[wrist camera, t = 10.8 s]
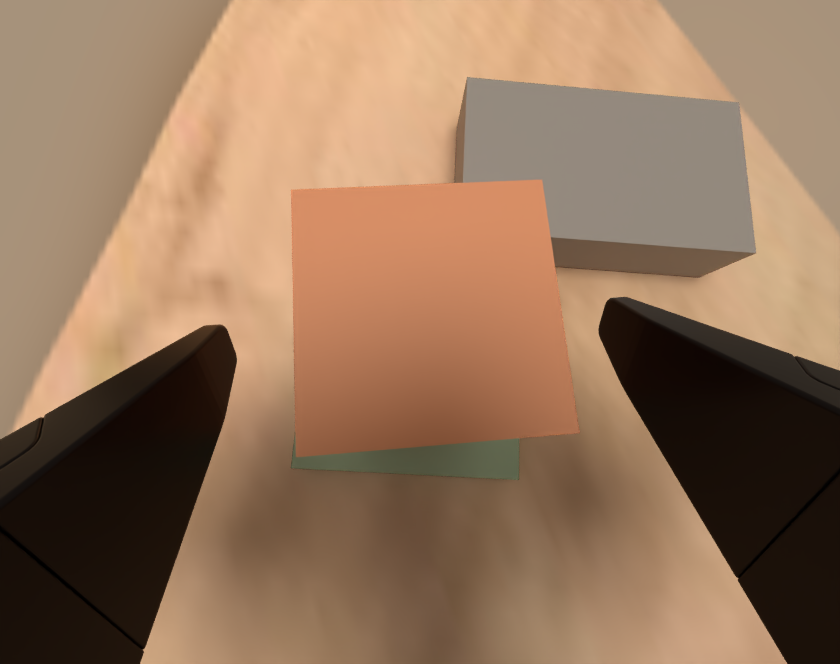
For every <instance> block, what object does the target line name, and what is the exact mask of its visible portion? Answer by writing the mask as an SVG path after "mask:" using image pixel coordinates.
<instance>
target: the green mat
mask: <svg viewBox="0 0 840 664" xmlns="http://www.w3.org/2000/svg"><path fill="white" fill-rule="evenodd" d="M291 468H296V469H315V470H334V471H354V472H373V473H392V474H412V475H431V476H451V477H470V478H489V479H509V480H519V438H516V439H504V440H493V441H481V442H469V443H458V444H446V445H434V446H422V447H411V448H399V449H387V450H376V451H364V452H352V453H341V454H329V455H317V456H305V457H296V437H294V446H293V455H292V463H291Z"/></svg>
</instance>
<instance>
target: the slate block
mask: <svg viewBox="0 0 840 664" xmlns="http://www.w3.org/2000/svg"><path fill="white" fill-rule="evenodd" d="M517 180H542V182H543V189H544V195H545V202H546V209H547V216H548V223H549V229H550V236H551V243H552V250H553V256H554V263H555V267H568V268H581V269H595V270H608V271H622V272H635V273H649V274H662V275H676V276H689V277H701V276H703V275H706V274H708V273H711V272H713V271H715V270H718V269H720V268H722V267H725V266H727V265H729V264H732V263H734V262H736V261H739V260H741V259H743V258H746V257H748V256H750V255H753V254H755V253H756V247H755V239H754V230H753V221H752V212H751V203H750V194H749V186H748V177H747V168H746V159H745V150H744V142H743V133H742V124H741V115H740V106H739V102H728V101H717V100H707V99H696V98H685V97H674V96H664V95H653V94H642V93H631V92H621V91H610V90H599V89H589V88H578V87H567V86H556V85H546V84H535V83H524V82H513V81H503V80H492V79H481V78H470V77H467V80H466V85H465V90H464V95H463V100H462V105H461V110H460V114H459V119H458V124H457V136H456V158H455V181H454V183H469V182H493V181H517Z"/></svg>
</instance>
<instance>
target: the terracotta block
mask: <svg viewBox="0 0 840 664" xmlns="http://www.w3.org/2000/svg"><path fill="white" fill-rule="evenodd" d="M291 208H292V265H293V322H294V380H295V437H296V457H305V456H317V455H329V454H341V453H352V452H364V451H376V450H387V449H399V448H411V447H422V446H434V445H446V444H458V443H469V442H481V441H493V440H504V439H516V438H528V437H539V436H551V435H563V434H575V433H580V432H579V426H578V419H577V412H576V405H575V399H574V392H573V385H572V378H571V372H570V365H569V358H568V351H567V344H566V338H565V331H564V324H563V317H562V311H561V304H560V297H559V290H558V283H557V277H556V270H555V263H554V256H553V250H552V243H551V236H550V229H549V223H548V216H547V209H546V202H545V195H544V189H543V182H542V180H517V181H493V182H469V183H445V184H421V185H396V186H372V187H348V188H324V189H299V190H291Z"/></svg>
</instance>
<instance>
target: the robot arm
mask: <svg viewBox="0 0 840 664" xmlns="http://www.w3.org/2000/svg"><path fill="white" fill-rule="evenodd" d="M599 336H600V339H601V341H602V343H603V345H604V348H605V350H606V352H607V354H608V356H609V359H610V361H611V363H612V365H613V367H614V370H615V372H616V374H617V376H618V378H619V381H620V383H621V385H622V387H623V388H624V390H625V392H626V394H627V395H628V397H629V399H630V400H631V402H632V404H633V405H634V407H635V409H636V411H637V412H638V414H639V416H640V417H641V419H642V421H643V422H644V424H645V426H646V427H647V429H648V431H649V432H650V434H651V436H652V437H653V439H654V441H655V442H656V444H657V446H658V447H659V449H660V451H661V452H662V454H663V456H664V457H665V459H666V461H667V462H668V464H669V466H670V467H671V469H672V471H673V472H674V474H675V476H676V477H677V479H678V481H679V482H680V484H681V486H682V488H683V489H684V491H685V493H686V494H687V496H688V498H689V499H690V501H691V503H692V504H693V506H694V508H695V509H696V511H697V513H698V514H699V516H700V518H701V519H702V521H703V523H704V524H705V526H706V528H707V529H708V531H709V533H710V534H711V536H712V538H713V539H714V541H715V543H716V544H717V546H718V548H719V549H720V551H721V553H722V554H723V556H724V558H725V560H726V561H727V563H728V565H729V566H730V568H731V570H732V571H733V573H734V575H735V576H736V577H737V578H738V582H739V583H740V585H741V587H742V588H743V590H744V592H745V593H746V595H747V597H748V599H749V600H750V602H751V604H752V605H753V607H754V609H755V610H756V612H757V614H758V615H759V617H760V619H761V620H762V622H763V624H764V625H765V627H766V629H767V630H768V632H769V634H770V635H771V637H772V639H773V640H774V642H775V644H776V645H777V647H778V649H779V650H780V652H781V654H782V656H783V657H784V659H785V661H786V662H787V664H840V371H839V370H836V369H833V368H830V367H827V366H824V365H821V364H818V363H816V362H813V361H810V360H807V359H804V358H801V357H798V356H795V357H794V356H793V355H792V354H789V353H787V352H784V351H781V350H778V349H775V348H772V347H769V346H766V345H763V344H761V343H758V342H755V341H752V340H749V339H746V338H743V337H740V336H738V335H735V334H732V333H729V332H726V331H723V330H720V329H717V328H714V327H712V326H709V325H706V324H703V323H700V322H697V321H694V320H691V319H689V318H686V317H683V316H680V315H677V314H674V313H671V312H668V311H665V310H663V309H660V308H657V307H654V306H651V305H648V304H645V303H642V302H640V301H637V300H634V299H631V298H628V297H618V298H610V299H609V300H607V302H606V304H605V307H604V311H603V314H602V317H601V321H600V324H599ZM236 363H237V357H236V353H235V350H234V347H233V344H232V342H231V339H230V336H229V333H228V331H227V329H226V328H225V326H223V325H206V326H203V327H201V328H199V329H197V330H195V331H194V332H192V333H190V334H188V335H187V336H185V337H183V338H181V339H179V340H178V341H176V342H174V343H172V344H170V345H169V346H167V347H165V348H163V349H162V350H160V351H158V352H156V353H154V354H153V355H151V356H149V357H147V358H145V359H144V360H142V361H140V362H138V363H137V364H135V365H133V366H131V367H129V368H128V369H126V370H124V371H122V372H120V373H119V374H117V375H115V376H113V377H112V378H110V379H108V380H106V381H104V382H103V383H101V384H99V385H97V386H95V387H94V388H92V389H90V390H88V391H87V392H85V393H83V394H81V395H79V396H78V397H76V398H74V399H72V400H70V401H69V402H67V403H65V404H63V405H62V406H60V407H58V408H56V409H54V410H53V411H51V412H49V413H47V414H46V415H45V416H44V418H42V417H41V418H38V419H36V420H35V421H33V422H31V423H29V424H27V425H26V426H24V427H22V428H20V429H18V430H17V431H15V432H13V433H11V434H9V435H7V436H6V437H4V438H2V439H0V664H140V662H141V659H142V656H143V653H144V651H143V649H144V648H145V647H146V644H147V641H148V638H149V635H150V632H151V629H152V626H153V624H154V621H155V618H156V615H157V612H158V609H159V606H160V603H161V601H162V598H163V595H164V592H165V589H166V586H167V583H168V581H169V578H170V575H171V572H172V569H173V566H174V563H175V560H176V558H177V555H178V552H179V549H180V546H181V543H182V540H183V537H184V535H185V532H186V529H187V526H188V523H189V520H190V517H191V515H192V512H193V509H194V506H195V503H196V500H197V497H198V494H199V492H200V489H201V486H202V483H203V480H204V477H205V474H206V471H207V469H208V466H209V463H210V460H211V457H212V454H213V451H214V449H215V446H216V443H217V440H218V437H219V434H220V431H221V428H222V425H223V422H224V419H225V415H226V411H227V406H228V401H229V397H230V392H231V387H232V383H233V378H234V373H235V368H236Z"/></svg>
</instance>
